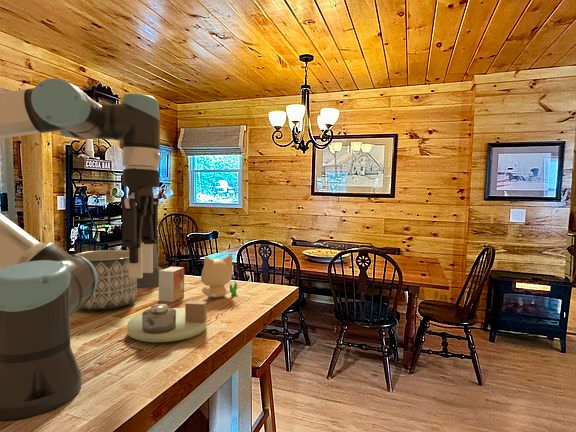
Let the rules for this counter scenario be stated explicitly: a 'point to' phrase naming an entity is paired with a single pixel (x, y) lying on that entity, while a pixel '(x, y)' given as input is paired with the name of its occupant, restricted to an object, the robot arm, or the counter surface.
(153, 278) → the lantern
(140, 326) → the turntable
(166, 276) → the small box
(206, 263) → the kitten
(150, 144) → the robot arm
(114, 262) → the planter
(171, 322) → the cover
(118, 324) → the counter surface
